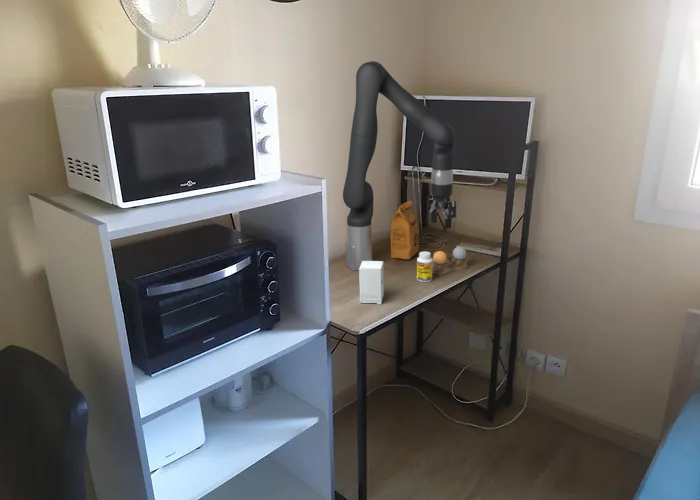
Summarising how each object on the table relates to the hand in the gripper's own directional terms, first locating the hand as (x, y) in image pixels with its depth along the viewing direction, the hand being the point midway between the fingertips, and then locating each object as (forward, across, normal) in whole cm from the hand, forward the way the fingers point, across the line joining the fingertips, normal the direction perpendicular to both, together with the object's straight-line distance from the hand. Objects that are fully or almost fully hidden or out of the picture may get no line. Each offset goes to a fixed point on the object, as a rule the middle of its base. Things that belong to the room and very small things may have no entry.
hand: (440, 225), depth 197 cm
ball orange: (+12, 0, 0) cm, 12 cm away
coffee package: (+18, +21, +2) cm, 28 cm away
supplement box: (+18, -9, +34) cm, 39 cm away
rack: (+18, 0, -4) cm, 19 cm away
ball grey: (+12, 0, -9) cm, 15 cm away
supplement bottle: (+18, -4, +9) cm, 21 cm away
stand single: (+18, +8, -6) cm, 21 cm away
